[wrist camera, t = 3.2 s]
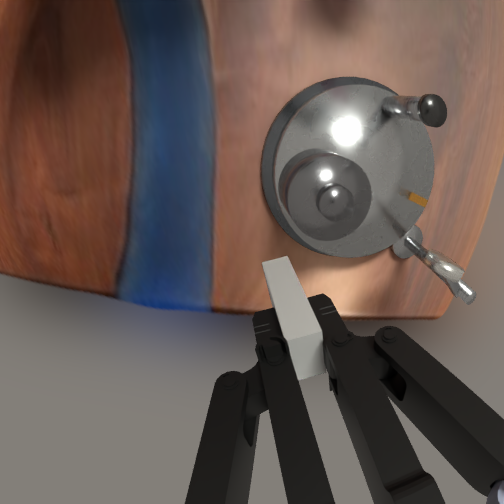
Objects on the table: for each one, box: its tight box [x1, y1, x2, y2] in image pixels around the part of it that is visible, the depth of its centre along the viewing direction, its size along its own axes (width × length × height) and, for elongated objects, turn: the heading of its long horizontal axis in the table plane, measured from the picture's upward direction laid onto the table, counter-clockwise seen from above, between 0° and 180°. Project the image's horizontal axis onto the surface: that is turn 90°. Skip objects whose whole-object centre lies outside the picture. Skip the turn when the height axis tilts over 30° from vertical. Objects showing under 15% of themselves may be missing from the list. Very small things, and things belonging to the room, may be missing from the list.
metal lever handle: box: [391, 225, 476, 305], centre depth 32 cm, size 10×5×15 cm, turn 72°
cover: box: [278, 148, 372, 241], centre depth 28 cm, size 8×8×6 cm
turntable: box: [272, 85, 447, 258], centre depth 29 cm, size 20×20×10 cm
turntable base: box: [261, 77, 399, 256], centre depth 34 cm, size 22×22×1 cm
